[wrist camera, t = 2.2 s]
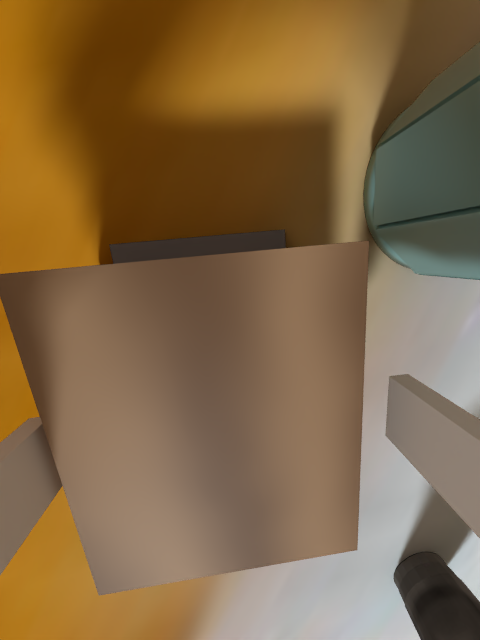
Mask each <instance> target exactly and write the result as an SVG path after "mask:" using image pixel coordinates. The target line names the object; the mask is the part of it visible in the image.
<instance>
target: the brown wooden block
mask: <svg viewBox="0 0 480 640" xmlns="http://www.w3.org/2000/svg"><path fill="white" fill-rule="evenodd" d="M368 254H369V241H359V242H348V243H337V244H326V245H315V246H304V247H293V248H282V249H271V250H260V251H249V252H238V253H227V254H216V255H205V256H194V257H183V258H172V259H161V260H150V261H139V262H128V263H117V264H106V265H95V266H84V267H73V268H62V269H51V270H40V271H29V272H18V273H7V274H0V297H1V300H2V303H3V306H4V309H5V312H6V315H7V318H8V321H9V324H10V327H11V330H12V333H13V336H14V339H15V343H16V346H17V349H18V352H19V355H20V358H21V361H22V364H23V367H24V370H25V373H26V376H27V379H28V382H29V385H30V388H31V391H32V394H33V397H34V400H35V403H36V406H37V409H38V412H39V415H40V418H41V421H42V424H43V427H44V430H45V433H46V437H47V440H48V443H49V446H50V449H51V452H52V455H53V458H54V461H55V464H56V467H57V470H58V473H59V476H60V479H61V482H62V485H63V488H64V491H65V494H66V497H67V500H68V503H69V506H70V509H71V512H72V515H73V518H74V521H75V524H76V527H77V531H78V534H79V537H80V540H81V543H82V546H83V549H84V552H85V555H86V558H87V561H88V564H89V567H90V570H91V573H92V576H93V579H94V582H95V585H96V588H97V591H98V594H99V595H104V594H110V593H116V592H121V591H127V590H133V589H138V588H144V587H150V586H155V585H161V584H167V583H172V582H178V581H184V580H189V579H195V578H201V577H207V576H212V575H218V574H224V573H229V572H235V571H241V570H246V569H252V568H258V567H263V566H269V565H275V564H280V563H286V562H292V561H297V560H303V559H309V558H314V557H320V556H326V555H331V554H337V553H343V552H348V551H354V550H357V544H358V517H359V491H360V464H361V438H362V412H363V385H364V359H365V333H366V306H367V280H368Z"/></svg>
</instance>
